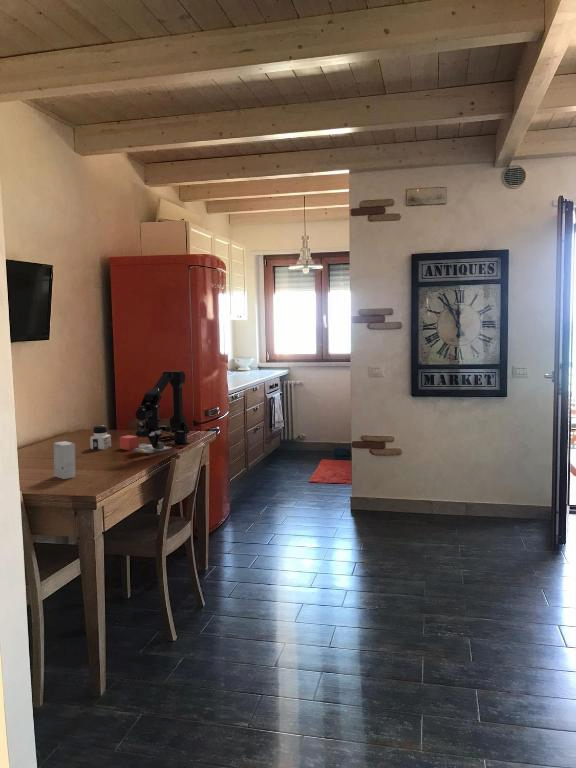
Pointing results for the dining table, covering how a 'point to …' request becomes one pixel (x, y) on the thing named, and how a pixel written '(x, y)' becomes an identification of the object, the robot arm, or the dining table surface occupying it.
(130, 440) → the cap
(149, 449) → the panel
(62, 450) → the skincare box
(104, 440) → the container
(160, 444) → the gray box
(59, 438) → the dining table surface
